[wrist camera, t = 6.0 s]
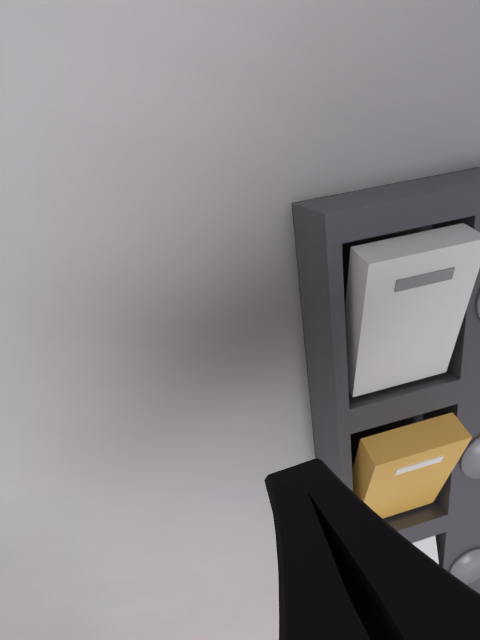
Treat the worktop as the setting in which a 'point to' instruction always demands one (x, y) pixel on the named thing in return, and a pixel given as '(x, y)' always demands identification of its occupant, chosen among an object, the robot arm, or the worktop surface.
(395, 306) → the rocker
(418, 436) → the rocker mid
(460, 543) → the power strip
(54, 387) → the worktop surface
